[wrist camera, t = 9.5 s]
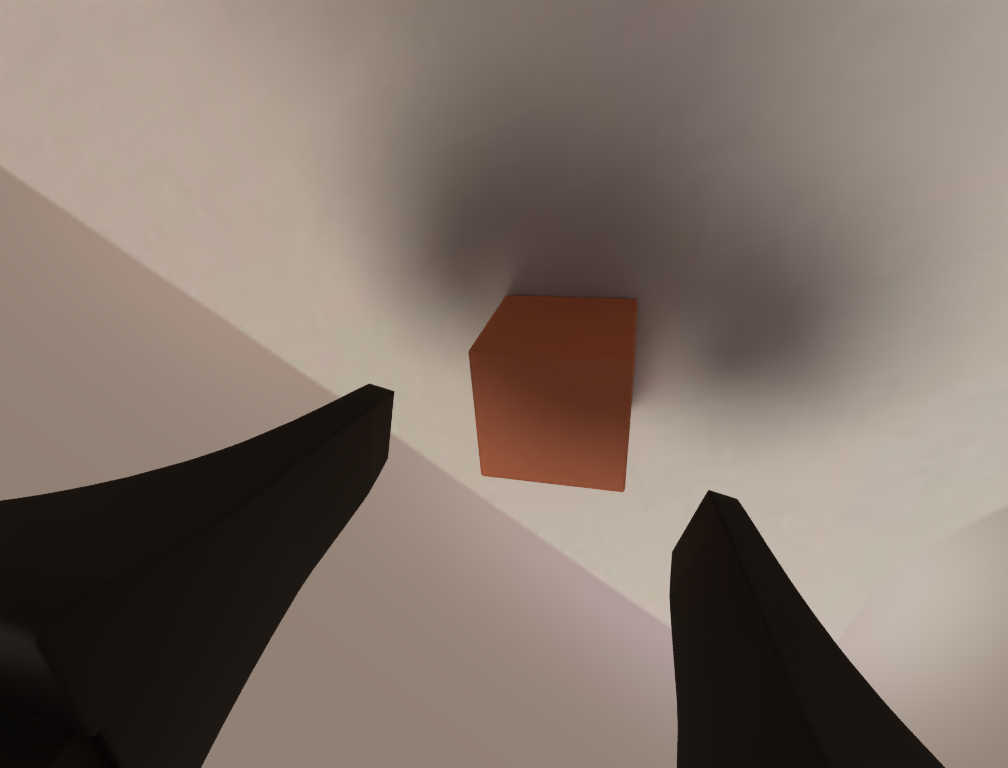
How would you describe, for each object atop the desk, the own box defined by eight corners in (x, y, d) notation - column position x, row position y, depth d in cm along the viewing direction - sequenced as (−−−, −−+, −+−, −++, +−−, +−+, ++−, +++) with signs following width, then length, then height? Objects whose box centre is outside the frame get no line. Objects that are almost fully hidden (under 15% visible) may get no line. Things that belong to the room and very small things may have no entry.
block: (628, 412, 17) (624, 493, 13) (511, 403, 18) (480, 476, 14) (637, 297, 15) (635, 360, 11) (505, 294, 16) (467, 350, 12)
